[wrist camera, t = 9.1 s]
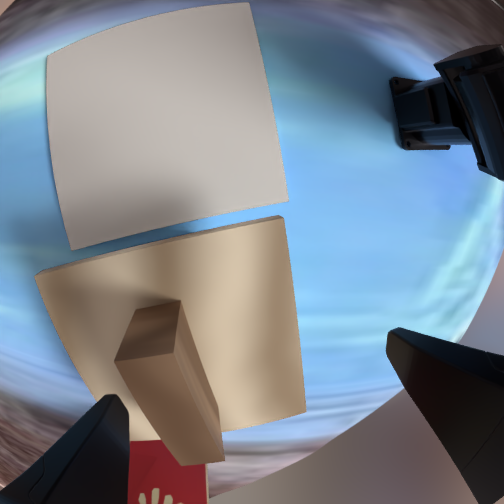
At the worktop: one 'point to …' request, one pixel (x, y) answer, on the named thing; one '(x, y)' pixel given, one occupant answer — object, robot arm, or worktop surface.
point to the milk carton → (164, 477)
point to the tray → (162, 124)
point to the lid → (186, 333)
